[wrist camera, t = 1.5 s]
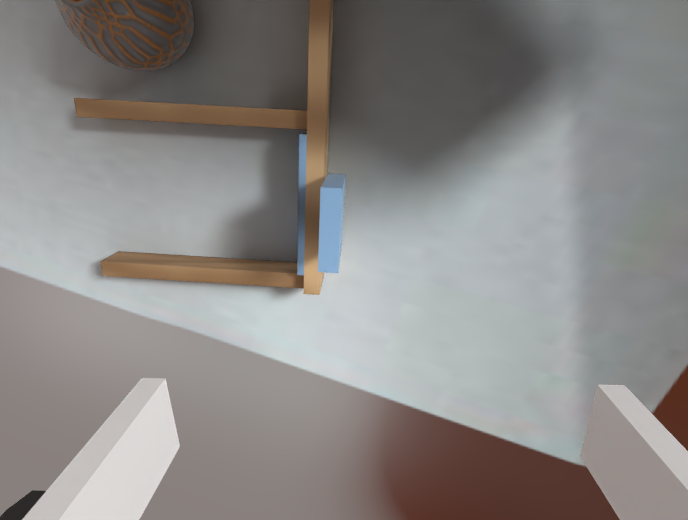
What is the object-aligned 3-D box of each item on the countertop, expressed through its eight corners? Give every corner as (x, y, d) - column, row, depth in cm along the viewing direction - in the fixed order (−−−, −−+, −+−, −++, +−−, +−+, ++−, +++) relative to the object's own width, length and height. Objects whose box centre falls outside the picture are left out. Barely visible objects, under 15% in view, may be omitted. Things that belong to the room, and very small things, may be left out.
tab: (328, 173, 27) (320, 187, 22) (345, 174, 27) (342, 188, 22) (325, 242, 29) (317, 271, 23) (342, 243, 29) (338, 273, 23)
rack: (68, -100, 25) (24, -133, 22) (337, -87, 25) (333, -119, 22) (120, 264, 34) (94, 280, 30) (323, 277, 33) (319, 294, 30)
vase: (182, 95, 29) (112, 85, 21) (94, 39, 28) (-18, 4, 20) (224, 2, 27) (165, -50, 19) (130, -63, 26) (23, -148, 18)
